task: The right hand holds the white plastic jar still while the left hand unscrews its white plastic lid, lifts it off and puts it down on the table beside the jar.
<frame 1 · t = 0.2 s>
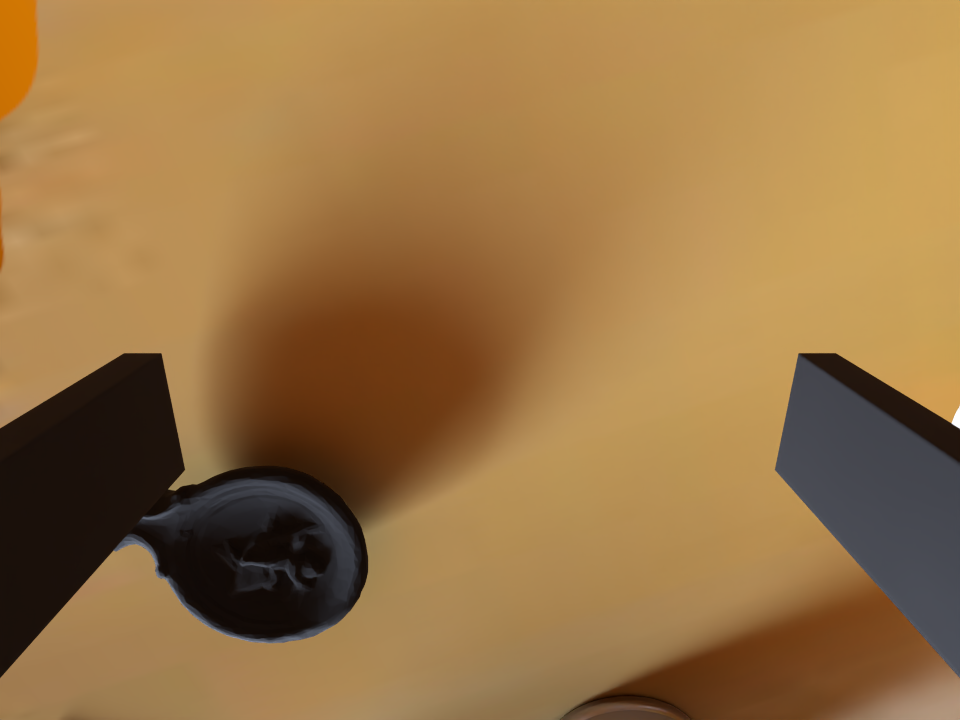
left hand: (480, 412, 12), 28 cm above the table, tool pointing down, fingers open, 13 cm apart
oil lamp: (255, 512, 46), on the table
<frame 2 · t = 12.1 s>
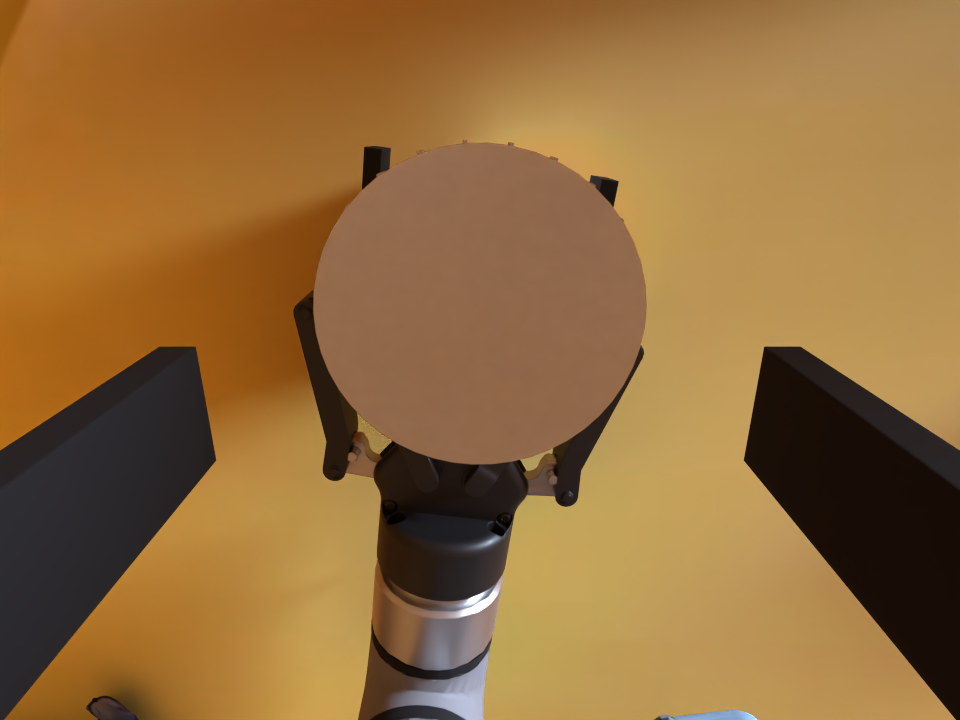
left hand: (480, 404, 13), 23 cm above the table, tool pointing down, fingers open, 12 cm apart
lid: (479, 316, 19), point 16 cm above the table, screwed on, not yet turned
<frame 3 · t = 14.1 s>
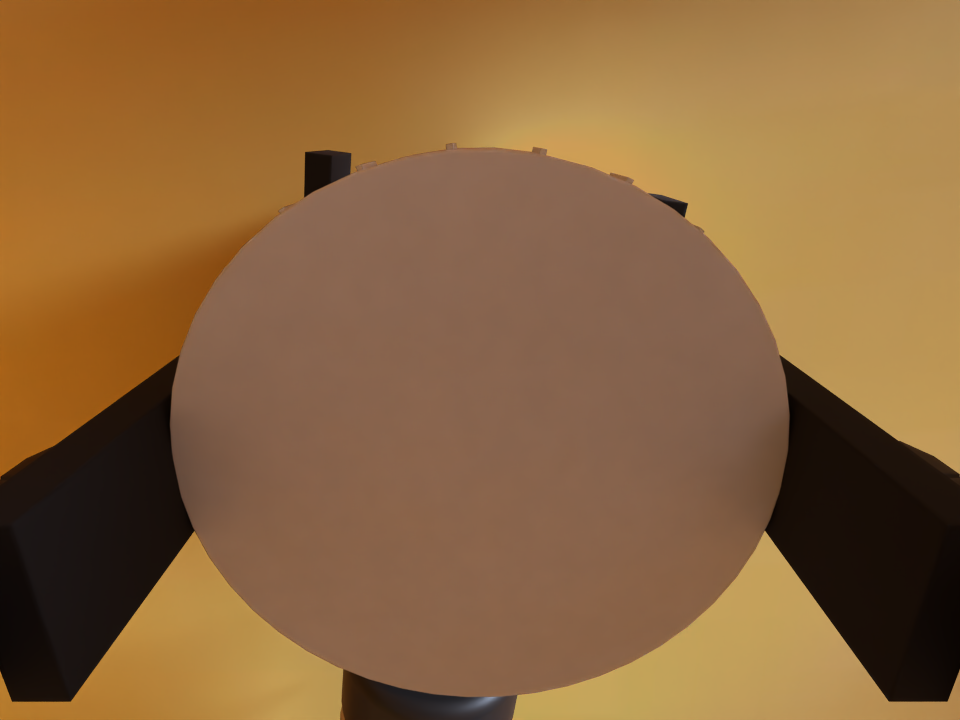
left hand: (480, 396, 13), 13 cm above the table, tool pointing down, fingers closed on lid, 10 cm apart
lid: (479, 463, 11), point 16 cm above the table, screwed on, not yet turned, touching left hand
when the left hand's fingers open (14 cm above the table, at t = 15.9 s): lid stays where it is, point 16 cm above the table.
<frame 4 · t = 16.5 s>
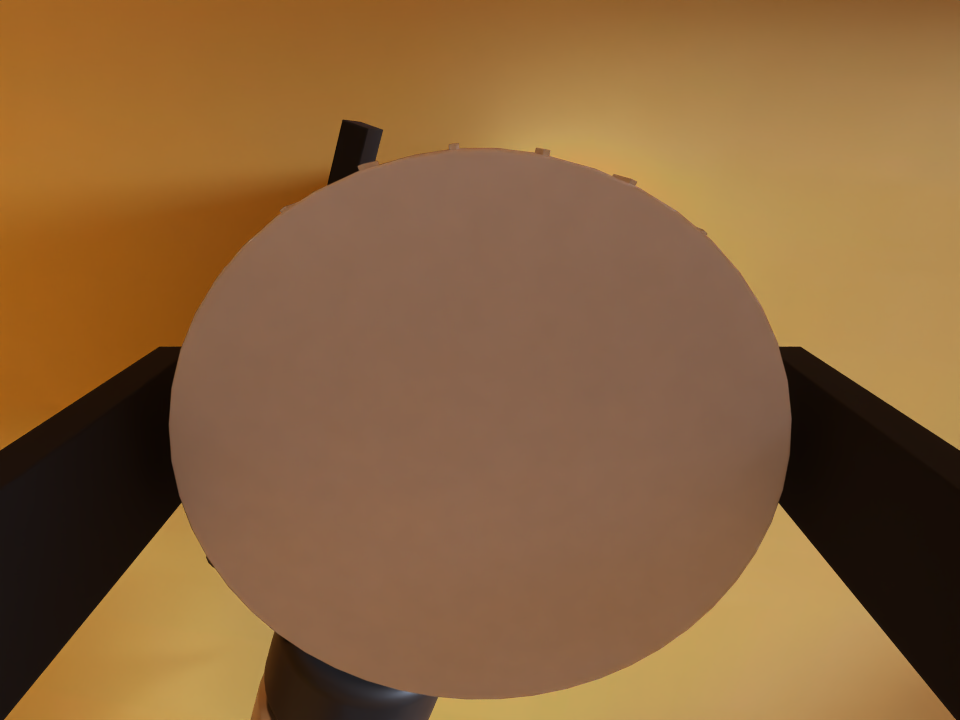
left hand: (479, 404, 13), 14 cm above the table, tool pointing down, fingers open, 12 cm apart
lid: (480, 465, 10), point 16 cm above the table, turned 101° so far, risen 0.3 cm, still on its thread
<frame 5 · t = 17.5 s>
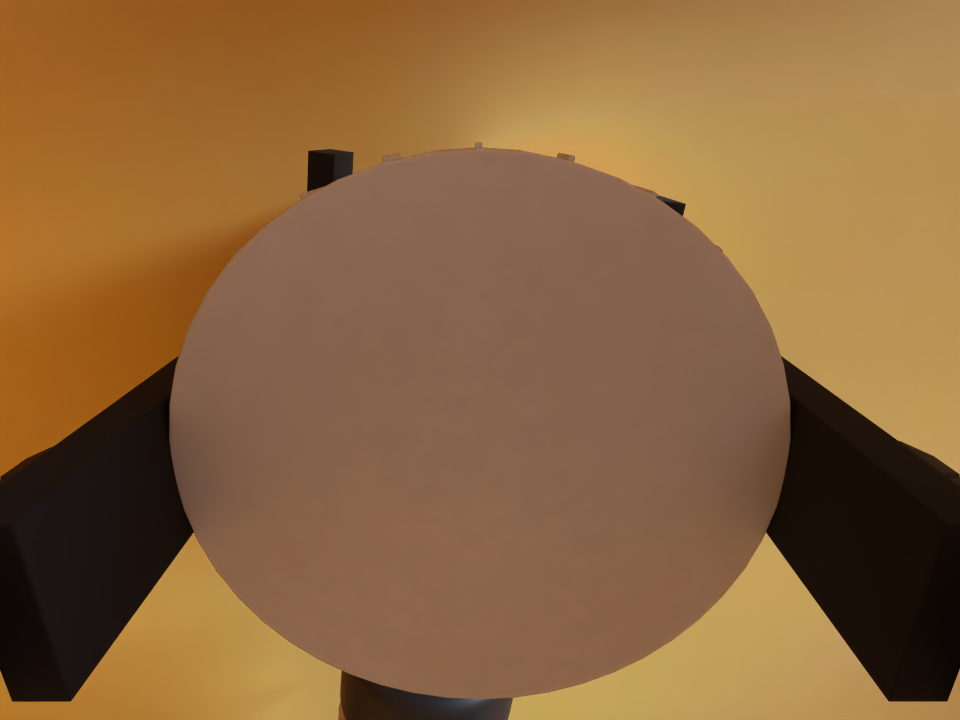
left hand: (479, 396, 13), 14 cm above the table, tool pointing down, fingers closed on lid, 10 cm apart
lid: (479, 464, 10), point 16 cm above the table, turned 101° so far, risen 0.3 cm, still on its thread, touching left hand
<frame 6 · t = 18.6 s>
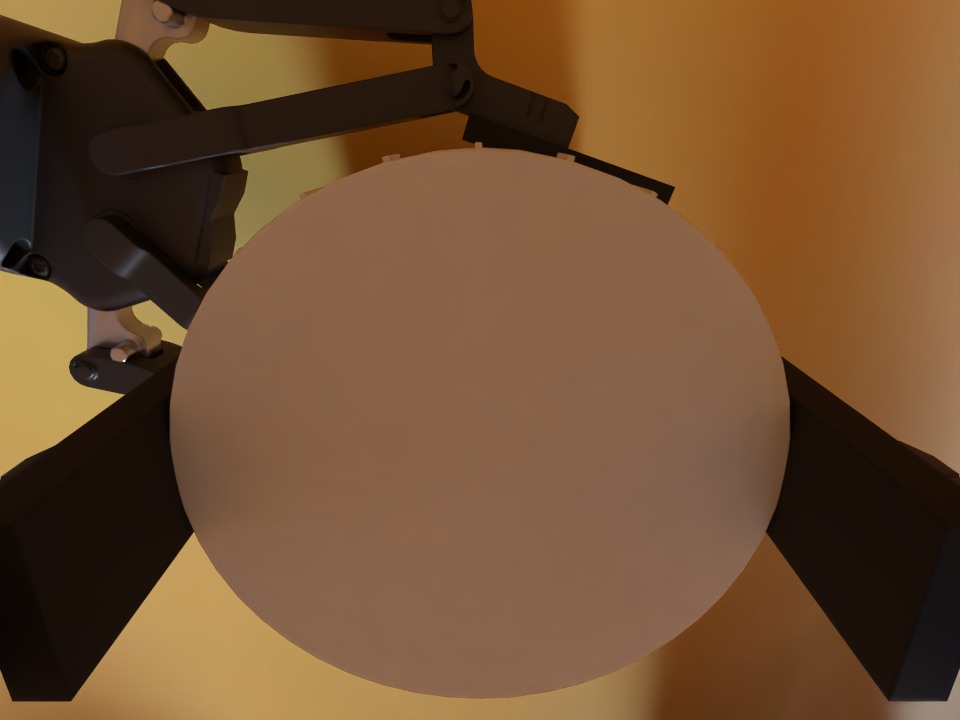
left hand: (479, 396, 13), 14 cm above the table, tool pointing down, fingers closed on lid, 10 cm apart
right hand: (596, 338, 21), fingers closed on jar, 10 cm apart
lid: (479, 464, 10), point 17 cm above the table, off its thread, touching left hand
when the left hand's fingers open (0 cm above the table, at t = 25.1 s): lid drops 2 cm, point 1 cm above the table.
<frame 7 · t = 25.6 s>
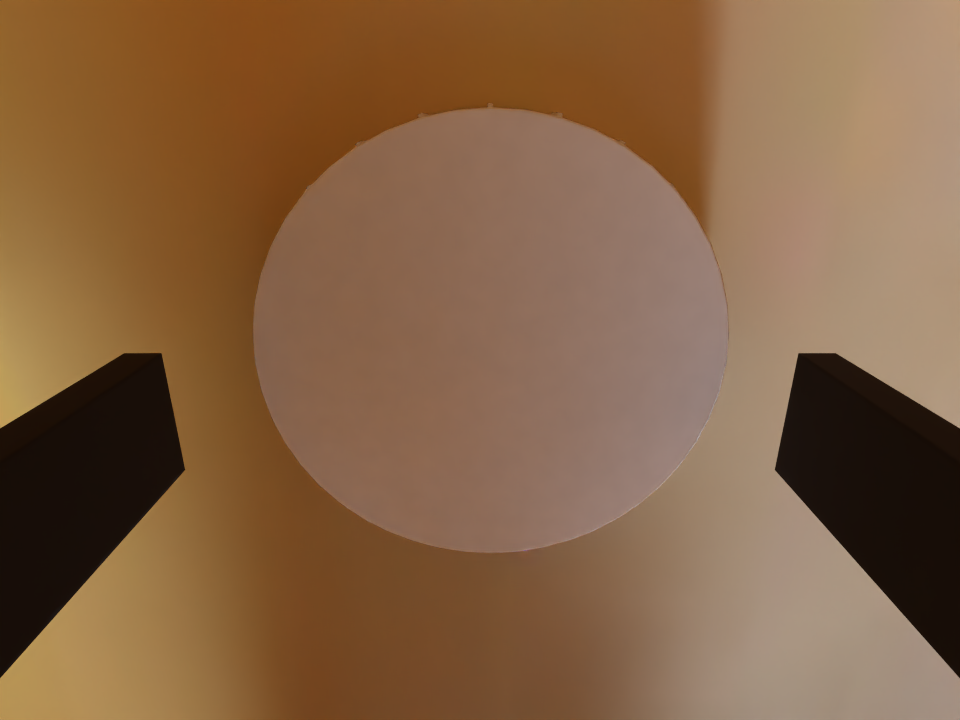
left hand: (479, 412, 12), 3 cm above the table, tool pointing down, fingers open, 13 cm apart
lid: (489, 358, 14), point 1 cm above the table, off its thread
when the right hand's fingers open (6 cm above the table, at t = 26.2 s): jar stays where it is, on the table.
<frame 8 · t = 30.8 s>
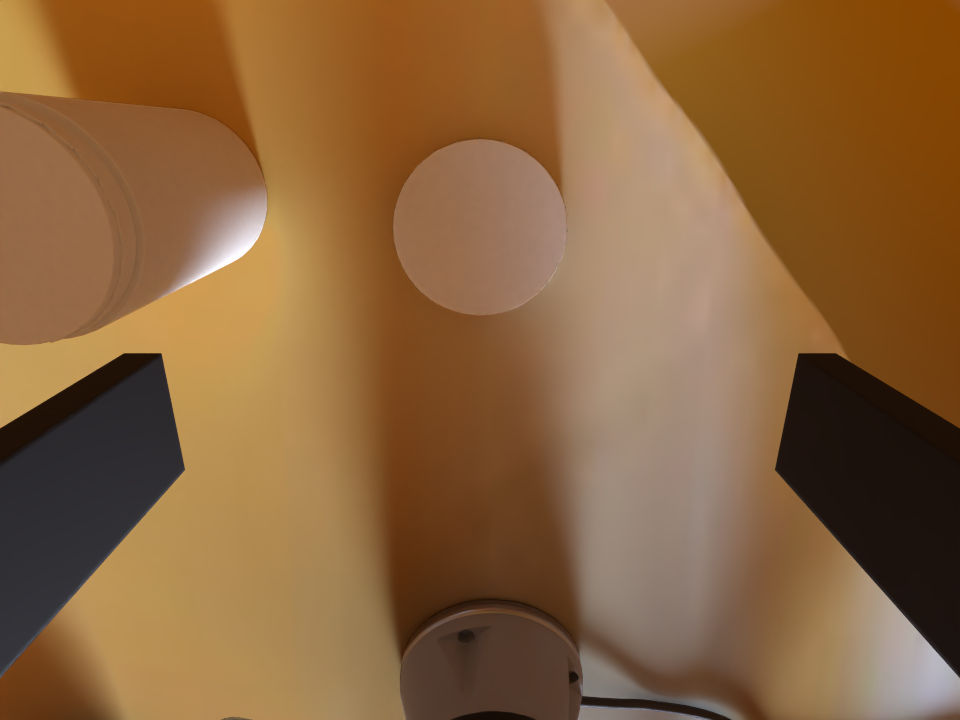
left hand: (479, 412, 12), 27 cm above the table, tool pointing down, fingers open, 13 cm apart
jar: (189, 192, 37), on the table
lid: (480, 231, 36), point 1 cm above the table, off its thread
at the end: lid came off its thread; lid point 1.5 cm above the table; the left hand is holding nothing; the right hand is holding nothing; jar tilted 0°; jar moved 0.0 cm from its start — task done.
